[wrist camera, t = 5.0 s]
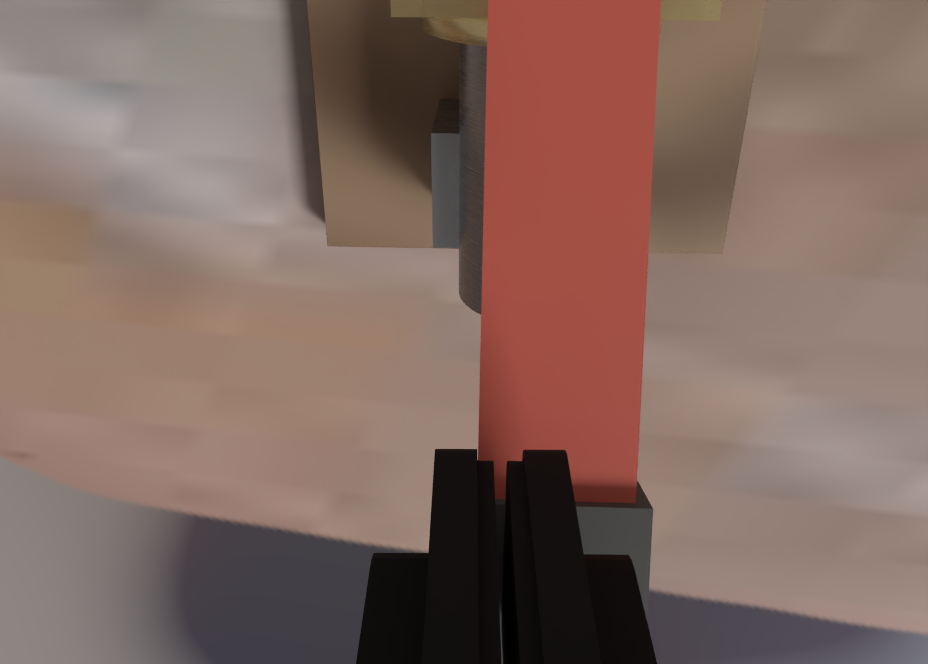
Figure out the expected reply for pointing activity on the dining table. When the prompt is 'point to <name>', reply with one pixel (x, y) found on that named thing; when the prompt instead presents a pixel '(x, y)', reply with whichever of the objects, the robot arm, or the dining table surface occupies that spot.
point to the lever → (569, 255)
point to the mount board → (437, 77)
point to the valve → (478, 126)
